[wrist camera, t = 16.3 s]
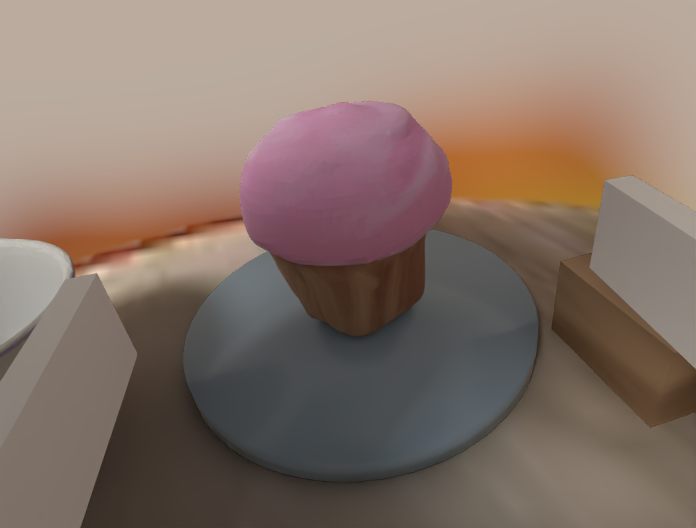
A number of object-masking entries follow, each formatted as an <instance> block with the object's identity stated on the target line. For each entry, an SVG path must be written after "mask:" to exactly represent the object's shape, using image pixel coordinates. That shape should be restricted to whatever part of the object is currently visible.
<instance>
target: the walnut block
mask: <svg viewBox="0 0 696 528" xmlns="http://www.w3.org/2000/svg"><path fill="white" fill-rule="evenodd" d="M591 256H592V253H589V254H586V255H582V256H579V257H575V258H571V259H568V260H564V261H561V262H560V270H559V277H558V285H557V292H556V300H555V307H554V315H553V323H552V329H553V330H554V331H555V332H556V333H557V334H558V335H559V336H560V337H561V338H562V339H563V340H564V341H565V342H566V343H567V344H568V345H569V346H570V347H571V348H572V349H573V350H574V351H575V352H576V353H577V354H578V355H579V356H580V357H581V358H582V359H583V360H584V361H585V362H586V363H587V364H588V365H589V366H590V367H591V368H592V369H593V370H594V371H595V372H596V373H597V374H598V375H599V376H600V377H601V378H602V379H603V380H604V381H605V383H606V384H607V385H608V386H609V387H610V388H611V389H612V390H613V391H614V392H615V393H616V394H617V395H618V396H619V397H620V398H621V399H622V400H623V401H624V402H625V403H626V404H627V405H628V406H629V407H630V408H631V409H632V410H633V411H634V412H635V413H636V414H637V415H638V416H639V417H640V418H641V419H642V420H643V421H644V422H645V423H646V424H647V425H648V426H649V427H653V426H656V425H659V424H662V423H665V422H668V421H671V420H674V419H677V418H680V417H682V416H685V415H688V414H691V413H694V412H696V369H695V368H694V367H693V366H692V365H691V364H690V363H689V362H688V361H687V360H686V359H685V358H684V357H683V356H682V355H681V354H680V353H678V352H677V351H676V350H675V349H674V348H673V347H672V346H671V345H670V344H669V343H668V342H667V341H666V340H665V339H664V338H663V337H662V336H661V335H660V334H659V333H658V332H656V331H655V330H654V329H653V328H652V327H651V326H650V325H649V324H648V323H647V322H646V321H645V320H644V319H643V318H642V317H641V316H640V315H639V314H638V313H637V312H636V311H634V310H633V309H632V308H631V307H630V306H629V305H628V304H627V303H626V302H625V301H624V300H623V299H622V298H621V297H620V296H619V295H618V294H617V293H616V292H615V291H613V290H612V289H611V288H610V287H609V286H608V285H607V284H606V283H605V282H604V281H603V280H602V279H601V278H600V277H599V276H598V275H597V274H596V273H595V272H594V271H593V270H591V269H590V268H589V267H590V261H591Z"/></svg>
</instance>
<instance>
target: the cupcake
mask: <svg viewBox="0 0 696 528" xmlns="http://www.w3.org/2000/svg"><path fill="white" fill-rule="evenodd" d="M451 192H452V178H451V173H450V171H449V162H448V160H447V157H446V154H445V153H444V151H443V150H442V148H441V147H440V146H438V145H437V144H436V143H435V142H434V140H433V139H432V138H431V136H430V135H429V134H428V133H427V132H426V130H425V129H423V127H421V126H420V125H419V124H418V123H417V122H416V121H415V119H414V118H413V117H412V116H411V114H410V113H409V112H408V111H407V110H406V109H405V108H403V107H401V106H399V105H396V104H391V103H383V102H373V101H366V102H365V101H363V102H354V103H348V102H341V103H337V104H332V105H330V106H327V107H321V108H317V109H313V110H308V111H303V112H299V113H296V114H292V115H289V116H286V117H284V118H283V119H281V120H280V121H279V122H278V123H277V124H276V125H275V126H274V127H273V129H272V130H271V131H270V132H269V133H268V134H267V135H266V136H265V137H264V138H262V139H261V140H260V141H259V142H258V143H257V144H256V145H255V146H254V147H253V148H252V150H251V151H250V153H249V155H248V157H247V160H246V162H245V166H244V169H243V172H242V176H241V183H240V206H241V211H242V215H243V219H244V223H245V227H246V230H247V232H248V234H249V237H250V238H251V240H252V241H253V242H254V243H255V244H256V245H258V246H259V247H261V248H263V249H265V250H267V251H269V252H270V254H271V256H272V258H273V259H274V261H275V262H276V265H277V267H278V269H279V271H280V272H281V274H282V275H283V277H284V279H285V280H286V282H287V283H288V285H289V286H290V288H291V290H292V291H293V292H294V294H295V295H296V296H297V297H298V298H299V300H300V302H301V304H302V305H303V307H304V309H305V310H306V312H307V314H308V315H309V316H311V317H312V318H315V319H319V320H322V321H324V322H326V323H328V324H329V325H330V326H331V327H333V328H334V329H336V330H337V331H340V332H342V333H345V334H347V335H350V336H354V337H356V336H365V335H369V334H372V333H374V332H376V331H377V330H378V329H380V328H381V327H383V326H384V325H386V324H387V323H389V322H390V321H392V320H393V319H395V318H396V317H397V316H399V315H401V314H403V313H404V312H406V311H408V310H409V309H410V308H411V307H412V306H413V305H414V304H415V303H417V302H418V301H419V300H420V299H421V297H422V295H423V293H424V288H425V238H426V233H427V232H428V231H429V230H430V229H431V228H432V227H433V226H434V225H435V224H436V223H437V222H438V220H439V219H440V218H441V216H442V215H443V213H444V212H445V210H446V208H447V207H448V205H449V202H450V198H451Z"/></svg>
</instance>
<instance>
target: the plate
mask: <svg viewBox="0 0 696 528" xmlns="http://www.w3.org/2000/svg"><path fill="white" fill-rule="evenodd" d="M538 329H539V324H538V316H537V309H536V307H535V304H534V301H533V298H532V295H531V293H530V292H529V290H528V288H527V286H526V285H525V283H524V281H523V280H522V279H521V278H520V277H519V275H518V274H517V273H516V272H515V271H514V270H513V269H512V268H511V267H510V266H509V265H508V264H507V263H506V262H505V261H503V260H502V259H501V258H499V257H498V256H496V255H495V254H494V253H492V252H491V251H489V250H487V249H485V248H484V247H482V246H480V245H478V244H476V243H474V242H471V241H469V240H466V239H464V238H462V237H459V236H456V235H452V234H449V233H446V232H442V231H438V230H433V229H430V230H429V231H428V232H427V233H426V238H425V288H424V293H423V295H422V297H421V299H420V300H419V301H418V302H417V303H415V304H414V305H413V306H412V307H411V308H410V309H409V310H408V311H406V312H404V313H403V314H401V315H399V316H397V317H396V318H395V319H393V320H392V321H390V322H389V323H387V324H386V325H384V326H383V327H381V328H380V329H378V330H377V331H376V332H374V333H372V334H369V335H365V336H356V337H354V336H350V335H347V334H345V333H342V332H340V331H337V330H336V329H334V328H333V327H331V326H330V325H329V324H328V323H326V322H324V321H322V320H319V319H315V318H312V317H311V316H309V315H308V314H307V312H306V310H305V309H304V307H303V305H302V304H301V302H300V300H299V298H298V297H297V296H296V295H295V294H294V292H293V291H292V290H291V288H290V286H289V285H288V283H287V282H286V280H285V279H284V277H283V275H282V274H281V272H280V271H279V269H278V267H277V265H276V262H275V261H274V259H273V258H272V256H271V254H270V252H269V251H267V252H265V253H263V254H261V255H260V256H258V257H256V258H254V259H253V260H251V261H249V262H248V263H246V264H245V265H243V266H242V267H240V268H239V269H238V270H236V271H235V272H233V273H232V274H231V275H230V276H228V277H227V278H226V279H225V280H224V281H223V282H221V283H220V284H219V285H218V286H217V287H216V288H215V290H214V291H213V292H212V293H211V294H210V295H209V296H208V297H207V299H206V300H205V301H204V303H203V304H202V305H201V307H200V308H199V310H198V311H197V313H196V315H195V317H194V318H193V320H192V322H191V325H190V327H189V330H188V333H187V335H186V340H185V345H184V350H183V368H184V373H185V377H186V382H187V385H188V387H189V389H190V391H191V394H192V396H193V398H194V400H195V403H196V405H197V407H198V409H199V411H200V414H201V416H202V418H203V419H204V421H205V422H206V423H207V425H208V426H209V428H210V429H211V430H212V432H213V433H214V434H215V435H216V436H217V437H218V438H219V439H220V440H221V441H222V442H224V443H225V444H226V445H227V446H228V447H229V448H231V449H232V450H234V451H235V452H237V453H238V454H240V455H241V456H243V457H244V458H246V459H247V460H250V461H252V462H254V463H256V464H258V465H260V466H263V467H265V468H267V469H269V470H273V471H276V472H280V473H283V474H286V475H290V476H293V477H298V478H305V479H312V480H318V481H334V482H357V481H367V480H377V479H385V478H390V477H394V476H399V475H403V474H407V473H412V472H415V471H418V470H421V469H424V468H426V467H429V466H432V465H435V464H438V463H440V462H443V461H445V460H447V459H449V458H451V457H452V456H454V455H456V454H458V453H460V452H462V451H464V450H466V449H468V448H469V447H471V446H472V445H474V444H475V443H476V442H478V441H479V440H481V439H482V438H484V437H485V436H487V435H488V434H489V433H490V432H491V431H492V430H493V429H495V428H496V427H497V426H498V425H499V424H500V423H501V422H502V421H503V420H504V419H505V418H506V417H507V416H508V415H509V413H510V412H511V411H512V409H513V408H514V407H515V406H516V404H517V403H518V402H519V400H520V399H521V397H522V395H523V393H524V391H525V389H526V387H527V385H528V383H529V382H530V378H531V375H532V372H533V368H534V365H535V358H536V350H537V340H538Z"/></svg>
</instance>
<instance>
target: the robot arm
mask: <svg viewBox="0 0 696 528" xmlns="http://www.w3.org/2000/svg"><path fill="white" fill-rule="evenodd" d="M589 268H590V269H591V270H593V271H594V272H595V273H596V274H597V275H598V276H599V277H600V278H601V279H602V280H603V281H604V282H605V283H606V284H607V285H608V286H609V287H610V288H611V289H612V290H613V291H615V292H616V293H617V294H618V295H619V296H620V297H621V298H622V299H623V300H624V301H625V302H626V303H627V304H628V305H629V306H630V307H631V308H632V309H633V310H634V311H636V312H637V313H638V314H639V315H640V316H641V317H642V318H643V319H644V320H645V321H646V322H647V323H648V324H649V325H650V326H651V327H652V328H653V329H654V330H655V331H656V332H658V333H659V334H660V335H661V336H662V337H663V338H664V339H665V340H666V341H667V342H668V343H669V344H670V345H671V346H672V347H673V348H674V349H675V350H676V351H677V352H678V353H680V354H681V355H682V356H683V357H684V358H685V359H686V360H687V361H688V362H689V363H690V364H691V365H692V366H693V367H694V368H695V369H696V212H695V211H693V210H691V209H690V208H688V207H687V206H685V205H683V204H681V203H680V202H678V201H676V200H674V199H673V198H671V197H669V196H668V195H666V194H664V193H663V192H661V191H659V190H658V189H656V188H654V187H652V186H651V185H649V184H647V183H646V182H643V181H642V180H641V179H639V178H637V177H635V176H634V175H630V176H624V177H619V178H614V179H609V180H605V181H604V187H603V193H602V198H601V204H600V210H599V216H598V221H597V227H596V233H595V239H594V244H593V250H592V256H591V261H590V267H589ZM137 356H138V354H137V352H136V350H135V348H134V346H133V344H132V342H131V340H130V338H129V336H128V334H127V332H126V330H125V328H124V326H123V324H122V322H121V320H120V318H119V316H118V314H117V312H116V310H115V308H114V306H113V304H112V302H111V300H110V298H109V296H108V294H107V292H106V290H105V288H104V286H103V284H102V282H101V280H100V278H99V276H98V274H97V273H96V274H91V275H85V276H80V277H75V278H69V279H65V281H64V283H63V284H62V286H61V287H60V289H59V290H58V292H57V294H56V295H55V297H54V298H53V300H52V301H51V303H50V305H49V306H48V308H47V309H46V311H45V312H44V314H43V316H42V317H41V319H40V320H39V322H38V323H37V325H36V326H35V328H34V330H33V331H32V333H31V334H30V336H29V337H28V339H27V341H26V342H25V344H24V345H23V347H22V348H21V350H20V352H19V353H18V355H17V356H16V358H15V359H14V361H13V363H12V364H11V366H10V367H9V369H8V370H7V372H6V374H5V375H4V377H3V378H2V380H1V381H0V528H80V527H81V524H82V521H83V518H84V515H85V512H86V509H87V506H88V503H89V500H90V497H91V494H92V491H93V488H94V485H95V482H96V479H97V476H98V473H99V470H100V467H101V464H102V461H103V458H104V455H105V452H106V449H107V446H108V443H109V440H110V437H111V434H112V431H113V428H114V425H115V422H116V419H117V416H118V413H119V410H120V407H121V404H122V401H123V398H124V395H125V392H126V389H127V386H128V383H129V380H130V377H131V374H132V371H133V368H134V365H135V362H136V359H137Z"/></svg>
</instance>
